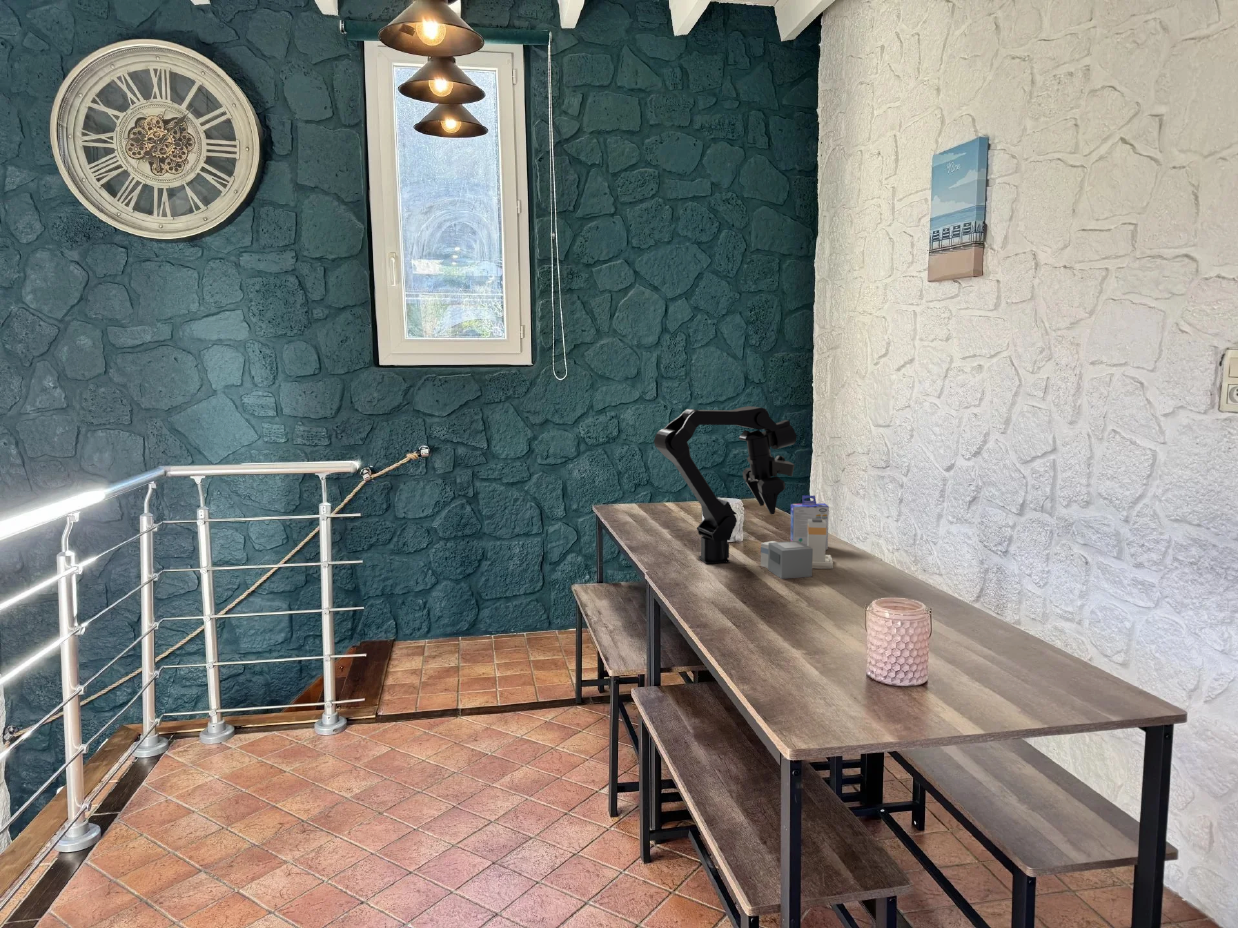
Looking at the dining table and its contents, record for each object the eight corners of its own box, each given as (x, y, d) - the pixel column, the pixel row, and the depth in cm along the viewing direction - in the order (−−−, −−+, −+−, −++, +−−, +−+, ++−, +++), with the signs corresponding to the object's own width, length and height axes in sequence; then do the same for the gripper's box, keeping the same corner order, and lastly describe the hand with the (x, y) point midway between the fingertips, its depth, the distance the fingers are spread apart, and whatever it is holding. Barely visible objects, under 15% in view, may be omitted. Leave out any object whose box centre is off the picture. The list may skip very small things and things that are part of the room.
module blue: (772, 569, 205) (772, 546, 205) (760, 565, 209) (760, 543, 208) (784, 566, 208) (785, 544, 207) (772, 563, 211) (773, 540, 210)
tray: (800, 567, 207) (800, 561, 207) (798, 559, 215) (798, 553, 214) (833, 568, 205) (833, 563, 205) (830, 560, 213) (830, 554, 213)
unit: (780, 578, 197) (781, 550, 196) (767, 570, 205) (768, 542, 204) (812, 576, 199) (813, 547, 198) (798, 567, 207) (798, 540, 206)
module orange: (807, 563, 208) (809, 520, 206) (806, 558, 212) (807, 517, 211) (825, 563, 207) (826, 521, 206) (823, 559, 212) (824, 517, 210)
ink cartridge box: (824, 545, 229) (825, 494, 227) (828, 550, 224) (830, 498, 222) (789, 545, 230) (790, 494, 227) (792, 550, 224) (794, 498, 222)
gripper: (800, 454, 207) (808, 512, 210) (777, 441, 225) (784, 495, 228) (758, 462, 206) (766, 521, 209) (738, 449, 224) (746, 503, 227)
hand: (767, 509), depth 219 cm, fingers open, 9 cm apart
